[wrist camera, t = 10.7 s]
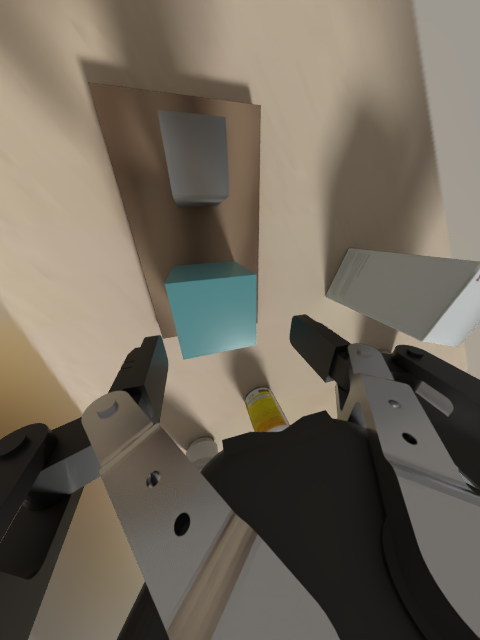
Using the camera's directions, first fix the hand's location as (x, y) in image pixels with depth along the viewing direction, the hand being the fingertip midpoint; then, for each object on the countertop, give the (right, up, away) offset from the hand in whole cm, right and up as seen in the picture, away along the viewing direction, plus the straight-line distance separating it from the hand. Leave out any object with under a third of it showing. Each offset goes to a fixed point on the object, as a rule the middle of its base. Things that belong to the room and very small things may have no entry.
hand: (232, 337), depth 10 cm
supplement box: (+18, +7, +16) cm, 25 cm away
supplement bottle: (+4, -13, +22) cm, 26 cm away
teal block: (-3, +4, +9) cm, 10 cm away
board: (-4, +9, +8) cm, 13 cm away
